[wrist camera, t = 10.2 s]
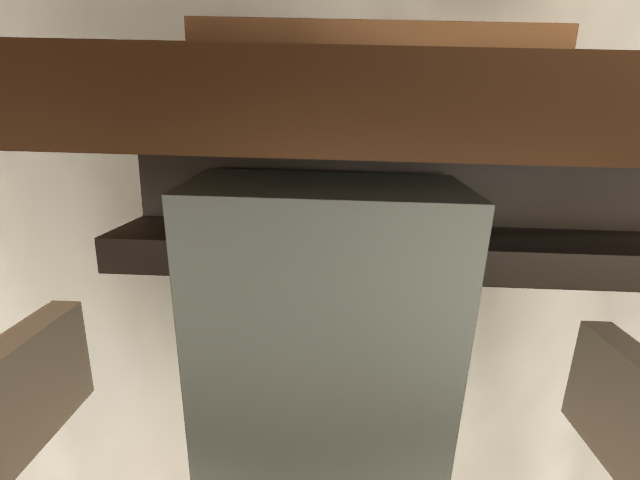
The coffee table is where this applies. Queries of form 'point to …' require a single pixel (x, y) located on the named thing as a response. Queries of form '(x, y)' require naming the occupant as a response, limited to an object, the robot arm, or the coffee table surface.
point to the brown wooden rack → (359, 125)
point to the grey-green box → (324, 320)
